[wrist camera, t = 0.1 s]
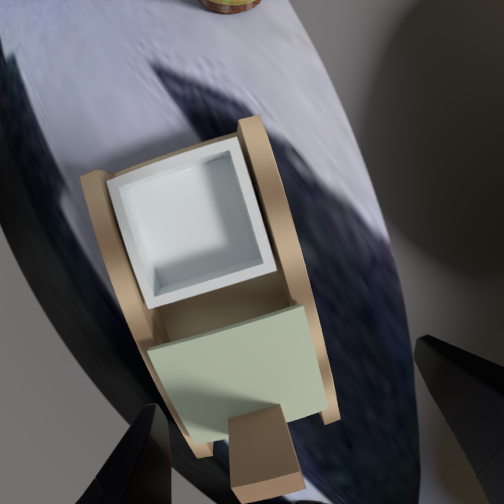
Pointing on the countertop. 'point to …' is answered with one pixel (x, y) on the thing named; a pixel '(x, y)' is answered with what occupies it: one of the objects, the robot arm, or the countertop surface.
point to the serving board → (223, 299)
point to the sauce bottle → (230, 5)
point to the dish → (191, 223)
